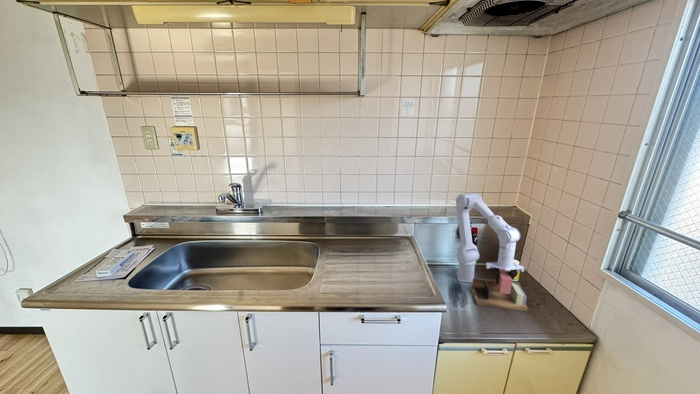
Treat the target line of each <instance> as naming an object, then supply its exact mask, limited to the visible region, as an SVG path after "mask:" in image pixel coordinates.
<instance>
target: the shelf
mask: <svg viewBox="0 0 700 394" xmlns="http://www.w3.org/2000/svg"><path fill="white" fill-rule="evenodd" d="M485 280H486V282H487V284H488V287H489V289H490V295H489V300H483V299H478V296H477V293H476V291H475V288H478V289H484V282H485ZM512 283H514V284H517V285H520V286H521V282H519V281H512ZM471 292H472V295H473V299H474V300H475V303H476V306H479V307H480V306H481V307H490V308H498V309H500V308H501V309H507V310H517V311H527V312H528V311H529V308H528V306H527V303H526V304H525V305H517V304H516V303H515V302H514V300H513V298H512V296H511V294H502V293H499V291H498V289H497V287H496V285H495V283H494V279H489V278H488V279H487V278H479V277H477V278H476V277H474V278H473V280H472V282H471Z"/></svg>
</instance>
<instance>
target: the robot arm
mask: <svg viewBox="0 0 700 394" xmlns="http://www.w3.org/2000/svg"><path fill="white" fill-rule="evenodd" d="M455 205H456V208H455V210H456V218H457V227H458V232H459V239H460V244H459V245H458V247H456V255H455V256H456V260H457V262H458V268H457V270H456V271H455V273H456V278H457V281H458V282H463V283H472V280H473V278H475V277H474V275H475V267H476V266H475V265H476V263H477V261H478V260H480V253H479V250H478V246H477V245H476V244H475V243H473V237H472V229H471V221H470V214H469V213H470V211H471V210H472V209H475V210H476V211H478V213H480V214H481V215H482V216H483V217H484V218H485V219H487V224H488V226H489V227H490V228H491V229H492V230H493V231H494V232H495V233H496V234H497V238H498V241H499V250H498V251H499V252H498V255H497V256H498V258H497V261H494V262H493V261H492V262H486V263H485V267H486V269H491V270H492V272H493V275H494V279H495V283H496V284H497V285H498V283H499V276H500V270H499V269H503V270H505V271H508V274H509V275H510V277H511V278H512V280H513V279H514V278H515V277H516V276H517V274H518V272H517V270H518V271H520V272H522V273H524V272H525V267H524V265H523V264H522V265H521V264H519V265H517V264H513V260H515V254H516V253H515V252H516V247H517V246H516V245H517V242H518V241H519V240H520V239H521V232H520V231H519V230H518V229H517V228H516V227H513V226H510V225H509V224H508V223H507V222H506V221H505V220H504V219H503V217H502V216H500V215H497V214H494V213H493V211H492V210H491V209H490V208H489V207H488V206H487V204H486V203H485V202H484V201H483V197H482V196H481V195H480V194H479V193H478V192H477V191H476V192H474V191H473V192H469V193H460V194H459V195H458V196H456V198H455Z"/></svg>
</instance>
